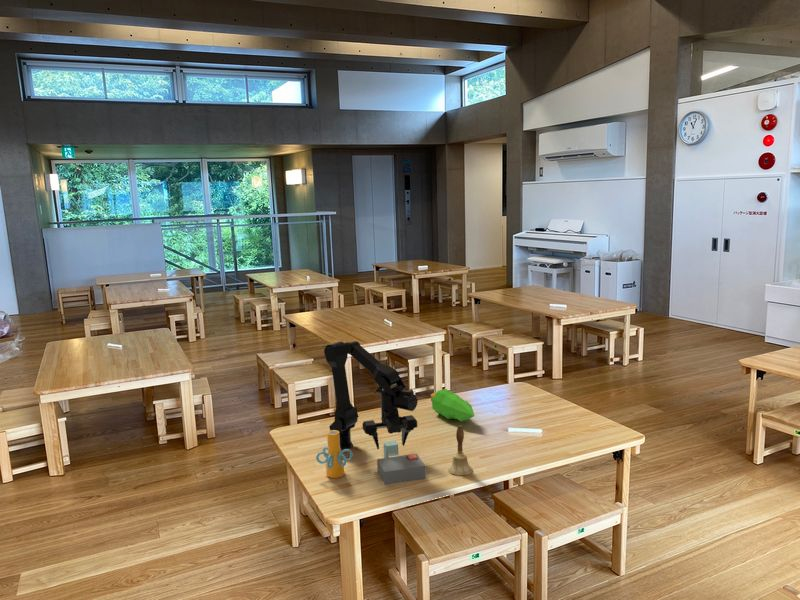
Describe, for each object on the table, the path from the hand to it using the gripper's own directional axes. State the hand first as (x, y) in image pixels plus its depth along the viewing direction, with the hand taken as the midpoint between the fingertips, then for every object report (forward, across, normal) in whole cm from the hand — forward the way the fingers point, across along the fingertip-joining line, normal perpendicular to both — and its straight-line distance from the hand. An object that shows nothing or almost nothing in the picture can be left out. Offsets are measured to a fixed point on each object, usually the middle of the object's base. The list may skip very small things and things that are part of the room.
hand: (390, 447), depth 212 cm
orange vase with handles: (+5, -21, -5) cm, 22 cm away
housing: (+4, 0, -13) cm, 14 cm away
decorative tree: (+5, +34, +29) cm, 45 cm away
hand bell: (+5, +20, -16) cm, 26 cm away
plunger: (+4, +5, -11) cm, 13 cm away
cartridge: (+4, 0, -7) cm, 9 cm away
